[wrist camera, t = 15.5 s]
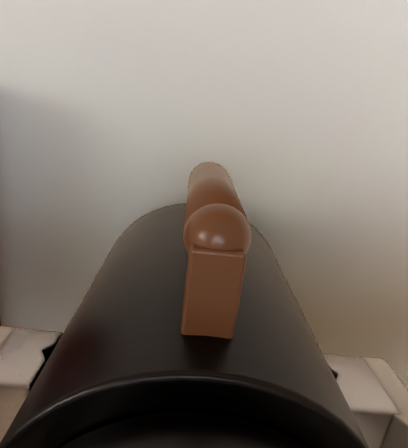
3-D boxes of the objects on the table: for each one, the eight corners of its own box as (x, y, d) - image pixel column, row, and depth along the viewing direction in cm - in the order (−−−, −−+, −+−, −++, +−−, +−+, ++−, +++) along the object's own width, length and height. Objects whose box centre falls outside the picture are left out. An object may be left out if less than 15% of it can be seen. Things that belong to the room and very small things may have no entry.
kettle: (305, 158, 10) (617, 325, 3) (255, 395, 13) (335, 803, 5) (108, 135, 10) (-184, 251, 2) (102, 383, 13) (-38, 799, 5)
